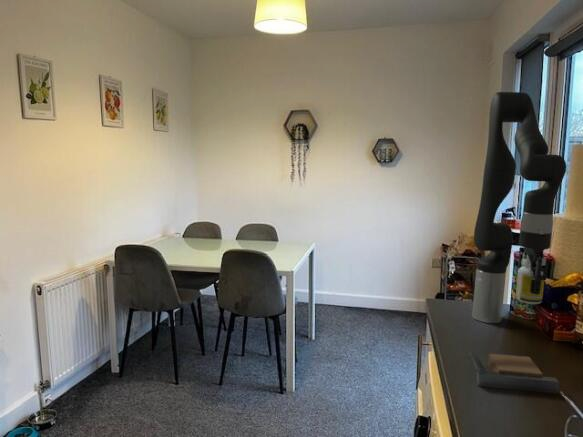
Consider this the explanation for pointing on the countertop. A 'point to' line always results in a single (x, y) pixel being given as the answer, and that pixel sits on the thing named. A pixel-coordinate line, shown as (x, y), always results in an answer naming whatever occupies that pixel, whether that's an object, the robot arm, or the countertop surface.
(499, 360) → the slab
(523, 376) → the dark grey tray
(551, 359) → the countertop surface
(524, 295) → the pill bottle
